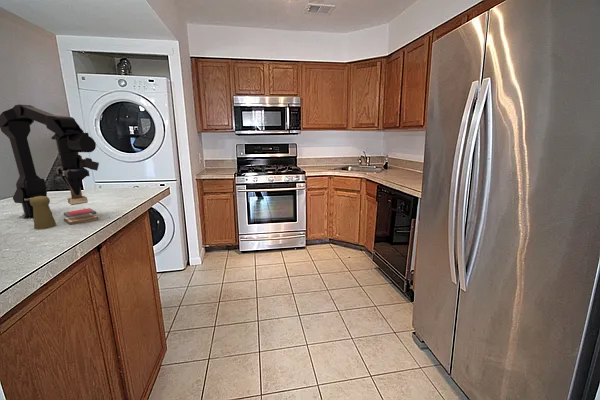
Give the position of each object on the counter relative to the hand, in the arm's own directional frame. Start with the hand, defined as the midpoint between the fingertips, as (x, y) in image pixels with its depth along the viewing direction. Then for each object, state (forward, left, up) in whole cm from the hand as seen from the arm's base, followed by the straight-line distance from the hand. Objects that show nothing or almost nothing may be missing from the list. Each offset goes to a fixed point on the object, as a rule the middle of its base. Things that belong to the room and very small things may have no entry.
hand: (76, 194), depth 108 cm
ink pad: (-10, +2, -10) cm, 15 cm away
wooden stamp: (0, 0, -3) cm, 3 cm away
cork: (0, -10, -10) cm, 15 cm away
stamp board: (0, 0, -10) cm, 10 cm away
